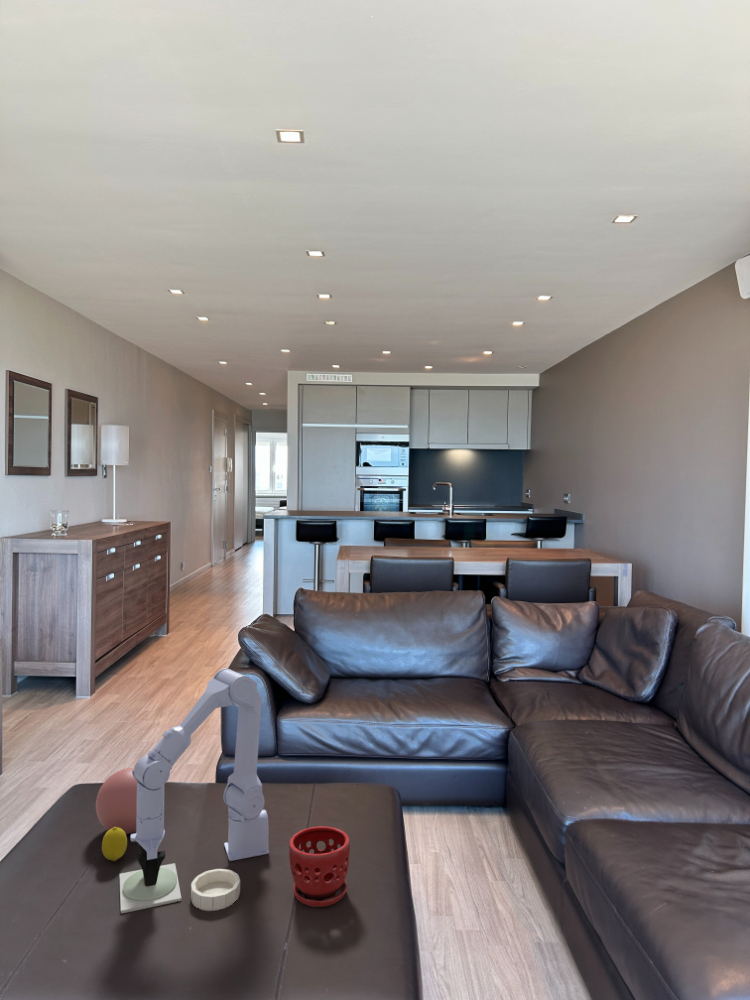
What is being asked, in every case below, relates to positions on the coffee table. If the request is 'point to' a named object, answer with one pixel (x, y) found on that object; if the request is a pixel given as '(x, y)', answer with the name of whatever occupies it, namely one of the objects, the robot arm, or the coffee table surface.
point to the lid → (139, 892)
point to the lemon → (114, 843)
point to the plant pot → (319, 865)
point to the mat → (133, 905)
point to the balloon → (118, 801)
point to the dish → (215, 889)
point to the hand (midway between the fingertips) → (149, 875)
